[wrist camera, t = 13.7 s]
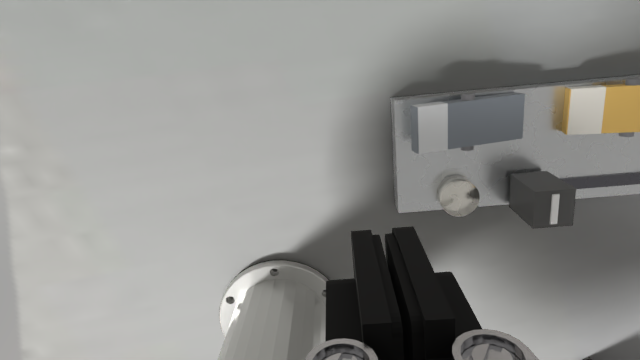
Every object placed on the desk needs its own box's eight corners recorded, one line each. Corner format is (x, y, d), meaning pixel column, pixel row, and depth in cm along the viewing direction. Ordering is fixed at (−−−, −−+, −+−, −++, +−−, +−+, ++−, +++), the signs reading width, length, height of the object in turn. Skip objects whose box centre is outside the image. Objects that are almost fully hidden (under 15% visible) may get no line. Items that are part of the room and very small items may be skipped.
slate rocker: (512, 140, 36) (522, 143, 34) (411, 155, 34) (417, 158, 33) (515, 87, 34) (525, 88, 33) (409, 100, 33) (416, 102, 32)
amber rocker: (689, 131, 33) (698, 135, 32) (560, 135, 35) (565, 139, 34) (699, 73, 32) (709, 75, 31) (565, 82, 34) (570, 84, 33)
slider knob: (544, 203, 37) (573, 226, 32) (509, 206, 37) (533, 229, 32) (546, 170, 36) (577, 189, 31) (510, 173, 36) (536, 192, 32)
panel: (659, 184, 39) (691, 198, 35) (395, 205, 40) (401, 221, 36) (677, 71, 36) (714, 74, 32) (390, 97, 37) (396, 103, 33)
